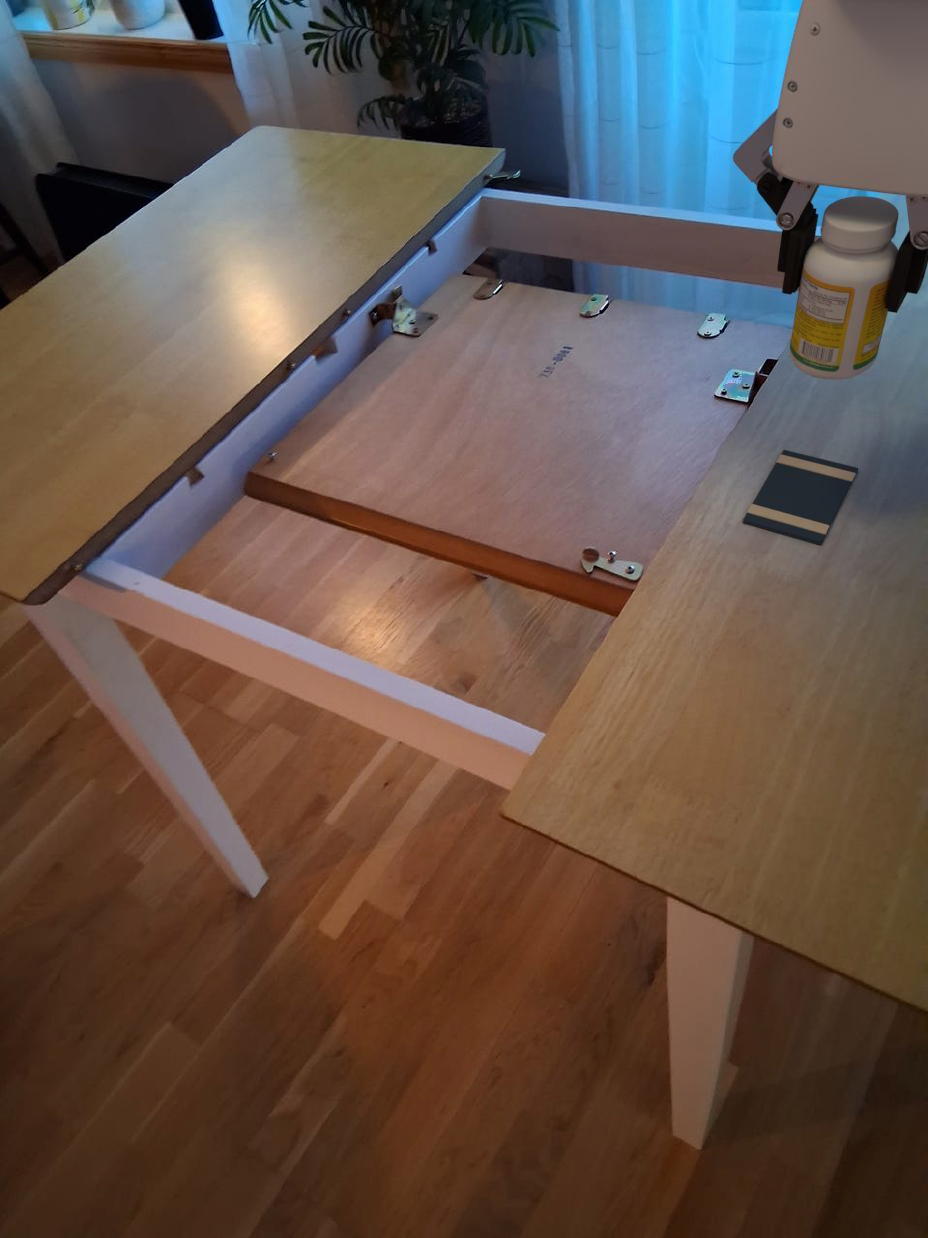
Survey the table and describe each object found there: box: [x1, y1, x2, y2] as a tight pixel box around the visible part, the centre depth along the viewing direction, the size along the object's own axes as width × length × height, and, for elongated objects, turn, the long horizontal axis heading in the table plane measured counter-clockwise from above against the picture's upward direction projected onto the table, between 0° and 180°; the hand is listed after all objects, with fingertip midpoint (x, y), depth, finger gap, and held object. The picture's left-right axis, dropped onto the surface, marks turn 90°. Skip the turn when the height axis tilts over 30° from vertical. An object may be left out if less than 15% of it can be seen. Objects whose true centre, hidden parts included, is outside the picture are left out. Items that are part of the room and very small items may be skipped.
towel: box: [742, 449, 859, 546], centre depth 72 cm, size 6×9×1 cm, turn 148°
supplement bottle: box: [788, 195, 900, 381], centre depth 56 cm, size 5×5×10 cm
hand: (845, 288), depth 56 cm, fingers closed on supplement bottle, 5 cm apart
